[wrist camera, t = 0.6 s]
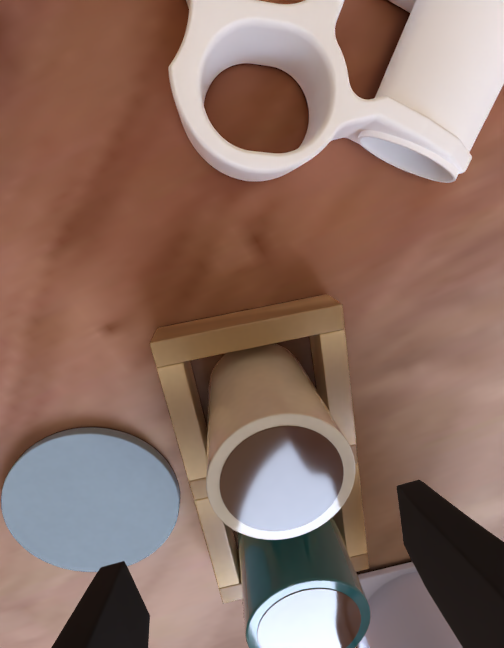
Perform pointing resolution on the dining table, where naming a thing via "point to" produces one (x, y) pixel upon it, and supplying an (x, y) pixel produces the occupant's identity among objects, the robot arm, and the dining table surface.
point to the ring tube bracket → (333, 83)
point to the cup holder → (189, 423)
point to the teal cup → (302, 591)
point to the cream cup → (273, 447)
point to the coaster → (90, 499)
